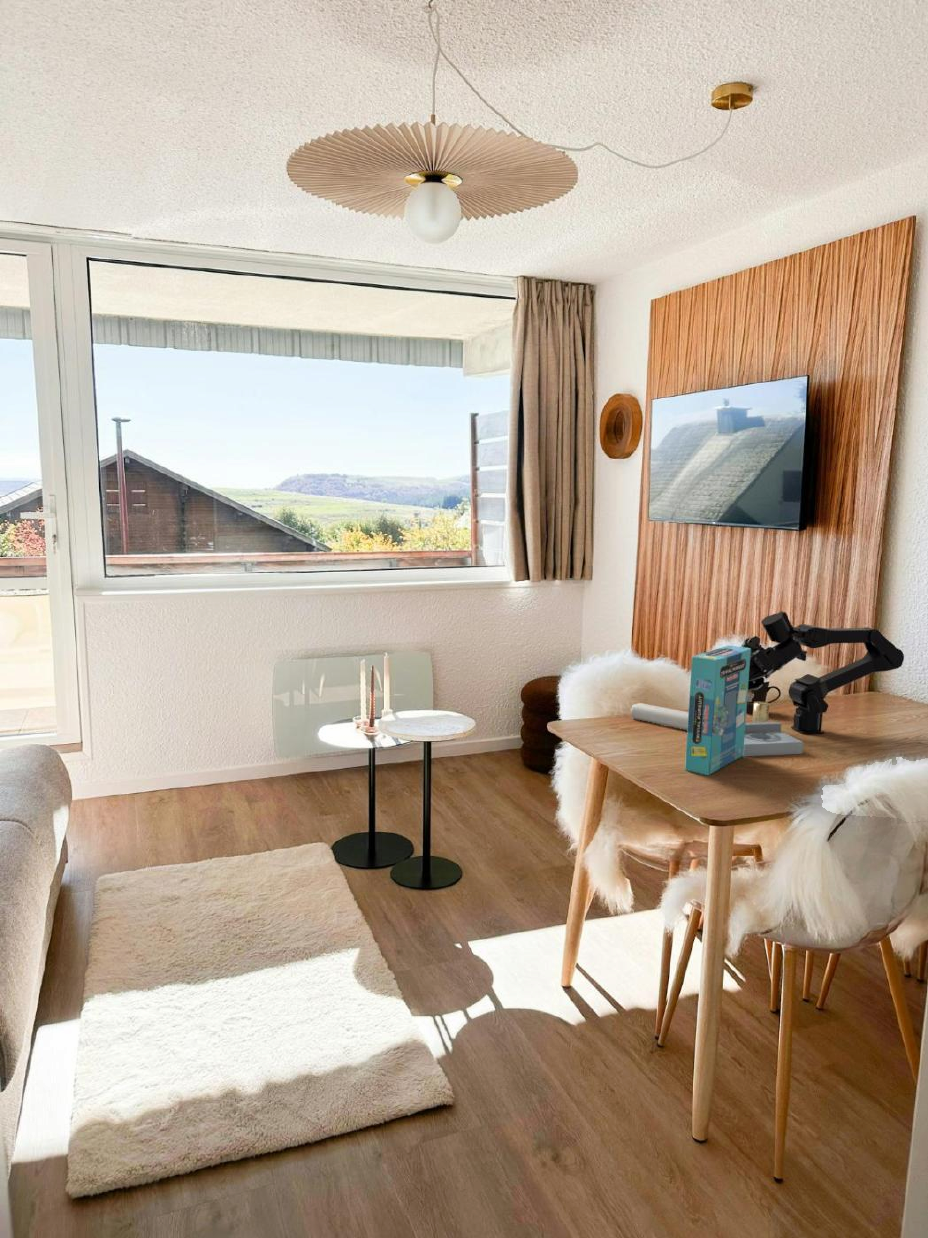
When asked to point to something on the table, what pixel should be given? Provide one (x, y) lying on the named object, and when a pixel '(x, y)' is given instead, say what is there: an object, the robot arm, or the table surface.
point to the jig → (769, 740)
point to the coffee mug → (759, 696)
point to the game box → (717, 708)
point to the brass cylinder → (760, 712)
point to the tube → (660, 715)
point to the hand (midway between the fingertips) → (732, 687)
